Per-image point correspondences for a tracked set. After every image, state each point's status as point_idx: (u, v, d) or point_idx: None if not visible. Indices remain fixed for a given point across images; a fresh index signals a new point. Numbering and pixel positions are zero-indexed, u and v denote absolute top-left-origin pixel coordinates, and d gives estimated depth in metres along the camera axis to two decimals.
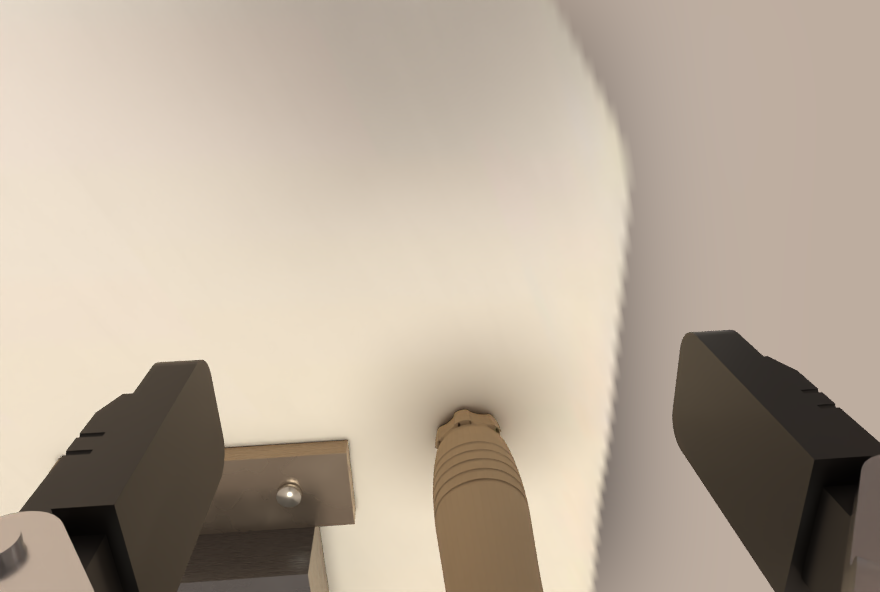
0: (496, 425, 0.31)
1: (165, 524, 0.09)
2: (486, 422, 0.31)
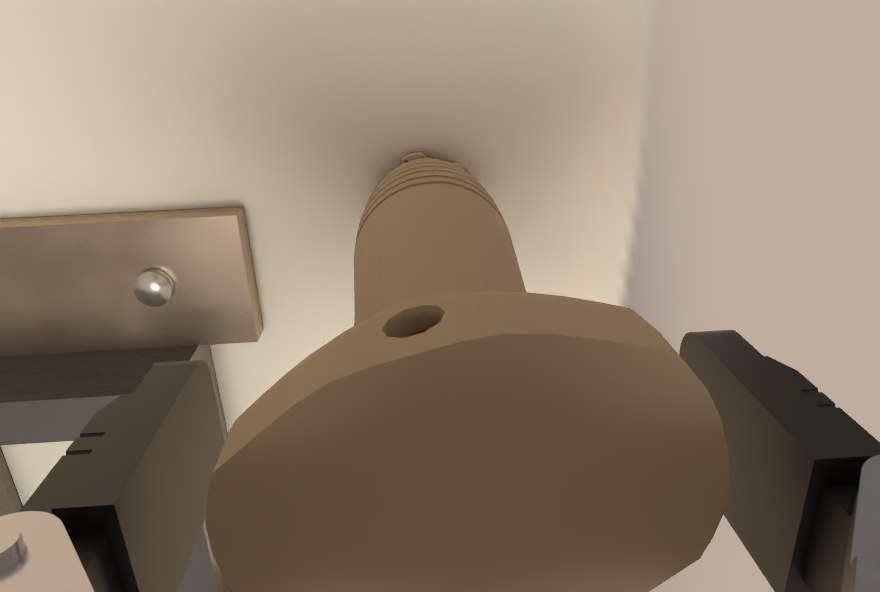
0: (464, 168, 0.20)
1: (165, 524, 0.09)
2: None
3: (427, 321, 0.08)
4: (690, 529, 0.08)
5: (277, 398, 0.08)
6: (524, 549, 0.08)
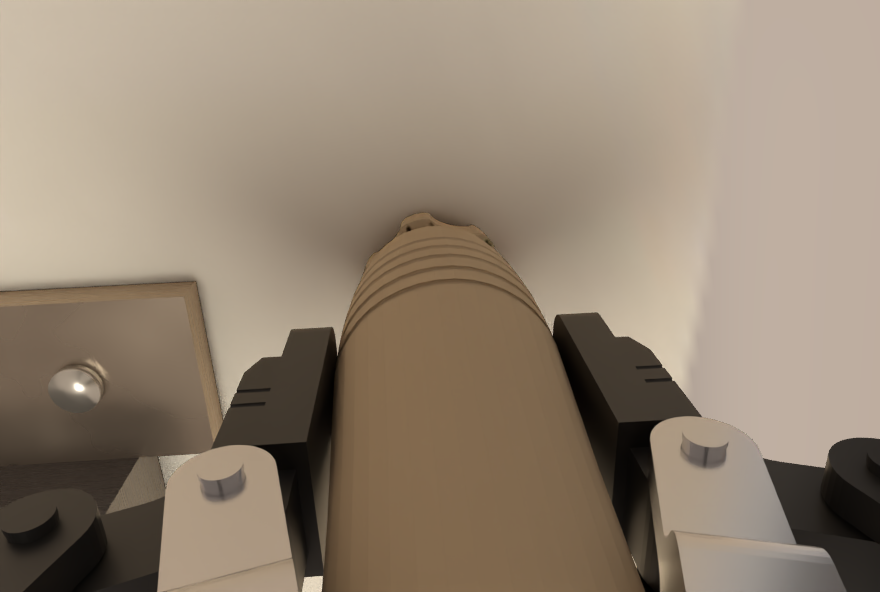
0: (486, 236, 0.15)
1: (324, 468, 0.09)
2: (465, 231, 0.15)
3: None
4: None
5: None
6: None
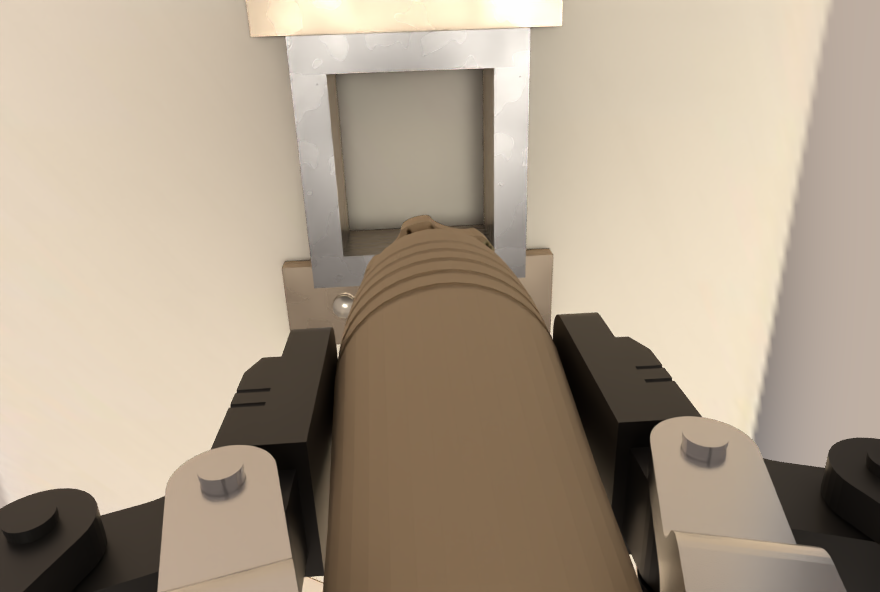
0: (486, 239, 0.15)
1: (324, 468, 0.09)
2: (466, 233, 0.15)
3: None
4: None
5: None
6: None
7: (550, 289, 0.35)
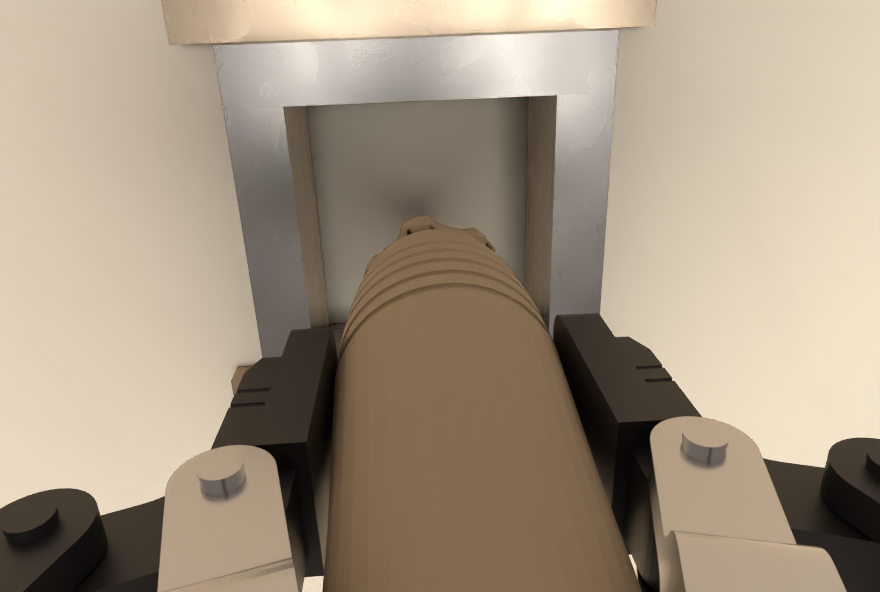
0: (486, 239, 0.15)
1: (324, 468, 0.09)
2: (466, 234, 0.15)
3: None
4: None
5: None
6: None
7: None
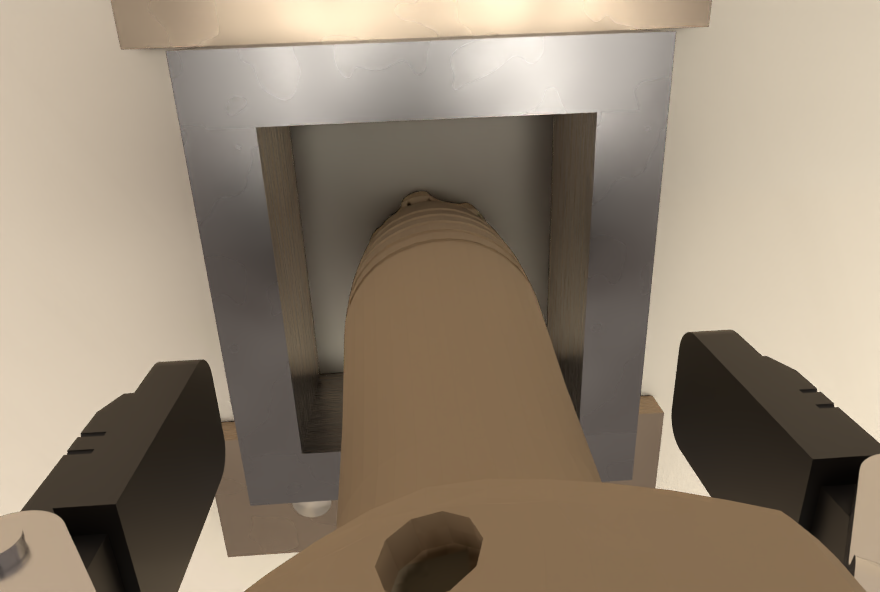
0: (478, 211, 0.17)
1: (166, 523, 0.09)
2: (460, 207, 0.17)
3: (451, 535, 0.05)
4: None
5: None
6: None
7: (655, 464, 0.21)
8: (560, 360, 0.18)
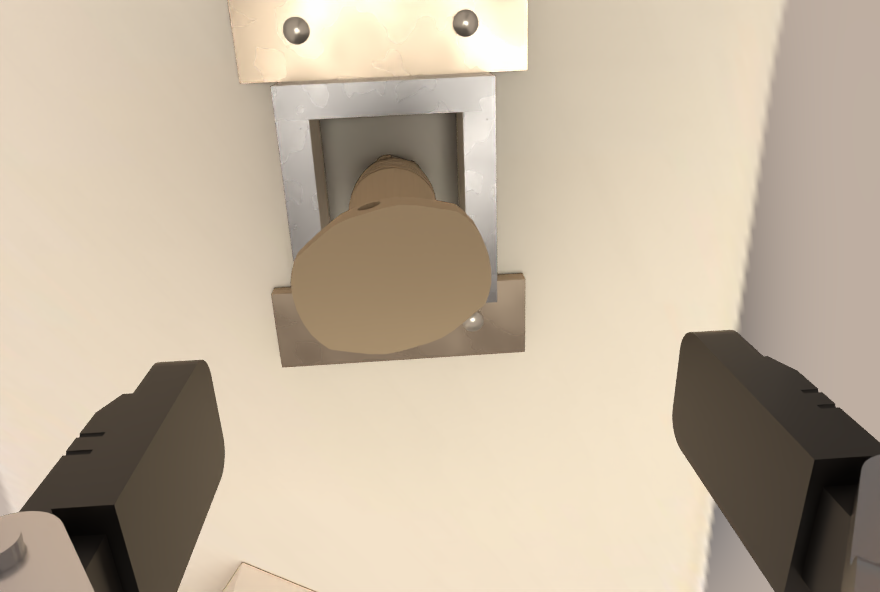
0: (416, 164, 0.33)
1: (164, 523, 0.09)
2: None
3: None
4: (479, 290, 0.21)
5: (317, 235, 0.21)
6: (413, 298, 0.21)
7: (523, 311, 0.37)
8: None
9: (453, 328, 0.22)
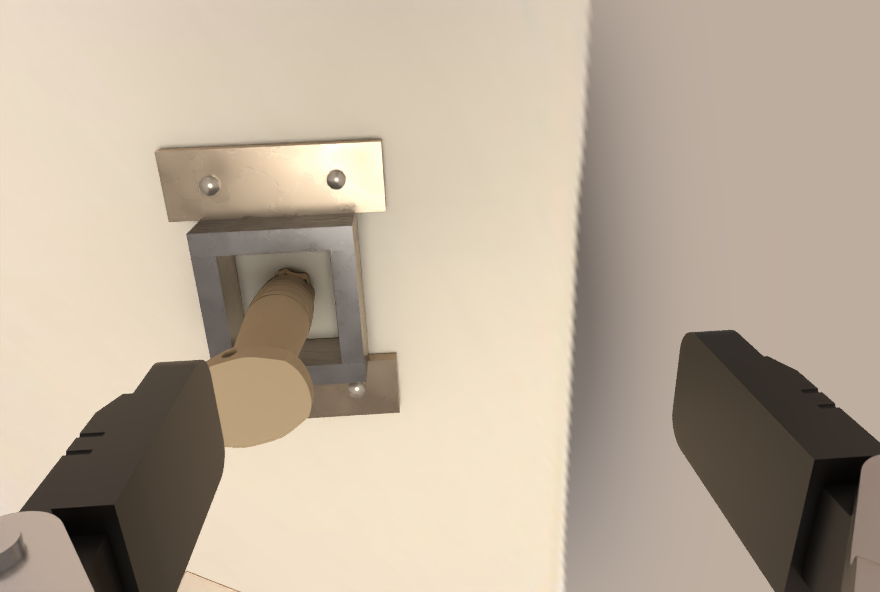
0: (305, 277, 0.44)
1: (164, 524, 0.09)
2: (298, 275, 0.44)
3: (235, 353, 0.32)
4: (304, 407, 0.32)
5: None
6: (260, 412, 0.32)
7: (396, 382, 0.48)
8: None
9: (289, 431, 0.32)
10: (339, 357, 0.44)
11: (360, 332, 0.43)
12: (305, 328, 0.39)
